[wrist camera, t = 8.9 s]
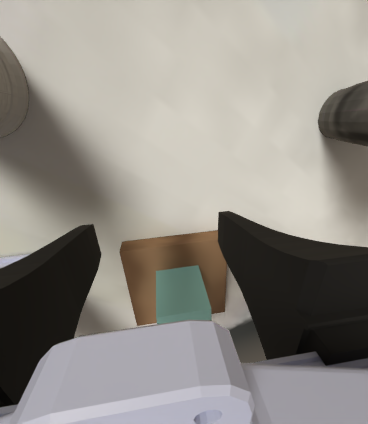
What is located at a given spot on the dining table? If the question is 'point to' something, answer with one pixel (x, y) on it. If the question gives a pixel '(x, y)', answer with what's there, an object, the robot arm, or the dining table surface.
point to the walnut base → (169, 259)
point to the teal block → (181, 295)
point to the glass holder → (11, 91)
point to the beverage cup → (346, 115)
